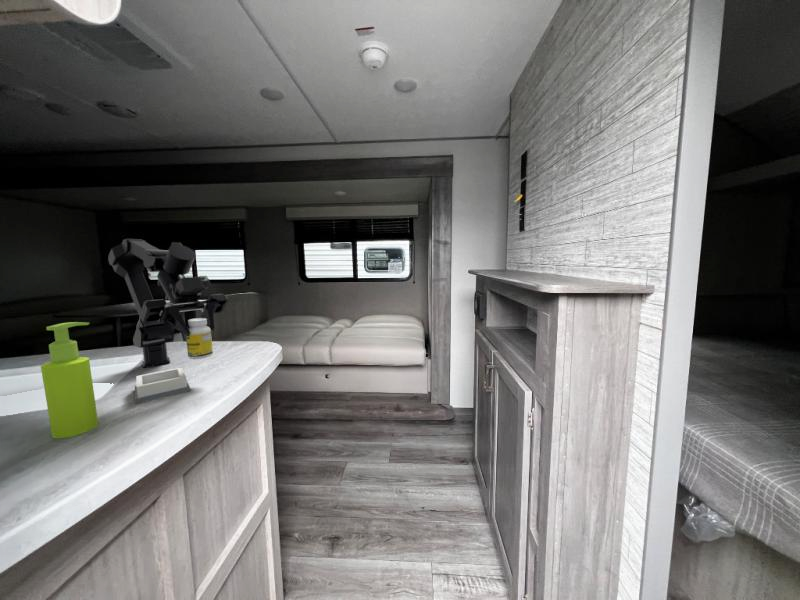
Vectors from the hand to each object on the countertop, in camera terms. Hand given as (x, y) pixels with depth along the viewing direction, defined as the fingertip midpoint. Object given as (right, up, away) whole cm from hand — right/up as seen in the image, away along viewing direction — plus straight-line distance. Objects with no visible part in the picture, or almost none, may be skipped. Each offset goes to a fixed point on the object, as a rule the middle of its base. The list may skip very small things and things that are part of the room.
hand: (201, 332), depth 77 cm
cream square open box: (-7, -14, -3) cm, 16 cm away
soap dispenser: (-10, -16, -20) cm, 27 cm away
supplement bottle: (-1, -7, +2) cm, 7 cm away
